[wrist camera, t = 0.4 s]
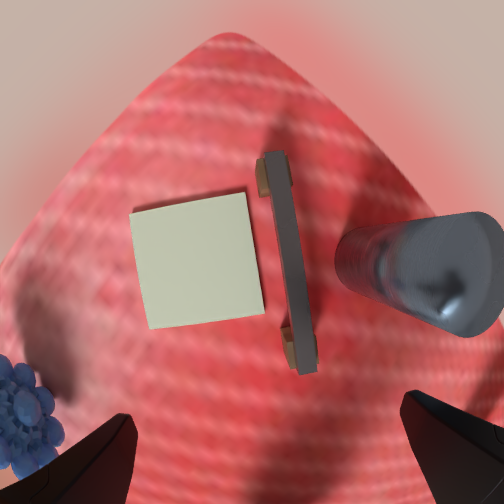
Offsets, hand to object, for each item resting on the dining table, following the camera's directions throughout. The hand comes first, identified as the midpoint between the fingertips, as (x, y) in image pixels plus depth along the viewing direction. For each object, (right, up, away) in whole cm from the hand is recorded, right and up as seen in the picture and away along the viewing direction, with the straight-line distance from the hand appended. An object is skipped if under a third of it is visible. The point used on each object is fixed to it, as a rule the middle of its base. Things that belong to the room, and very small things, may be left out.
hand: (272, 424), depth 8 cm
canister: (+8, +5, +14) cm, 17 cm away
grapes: (-20, -8, +14) cm, 26 cm away
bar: (+2, +4, +11) cm, 12 cm away
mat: (-5, +4, +14) cm, 15 cm away
